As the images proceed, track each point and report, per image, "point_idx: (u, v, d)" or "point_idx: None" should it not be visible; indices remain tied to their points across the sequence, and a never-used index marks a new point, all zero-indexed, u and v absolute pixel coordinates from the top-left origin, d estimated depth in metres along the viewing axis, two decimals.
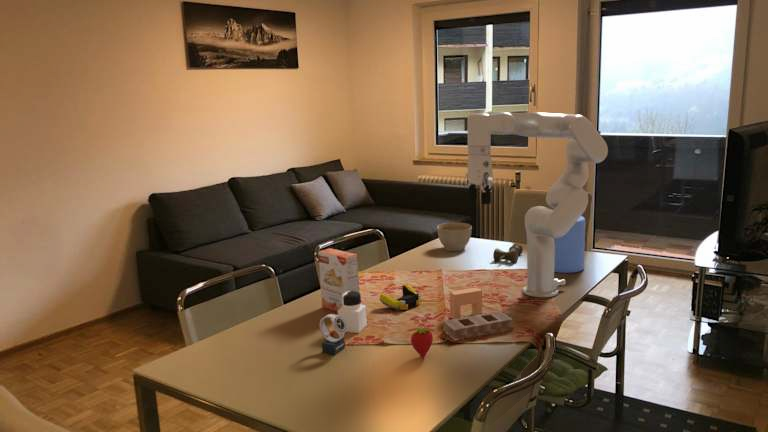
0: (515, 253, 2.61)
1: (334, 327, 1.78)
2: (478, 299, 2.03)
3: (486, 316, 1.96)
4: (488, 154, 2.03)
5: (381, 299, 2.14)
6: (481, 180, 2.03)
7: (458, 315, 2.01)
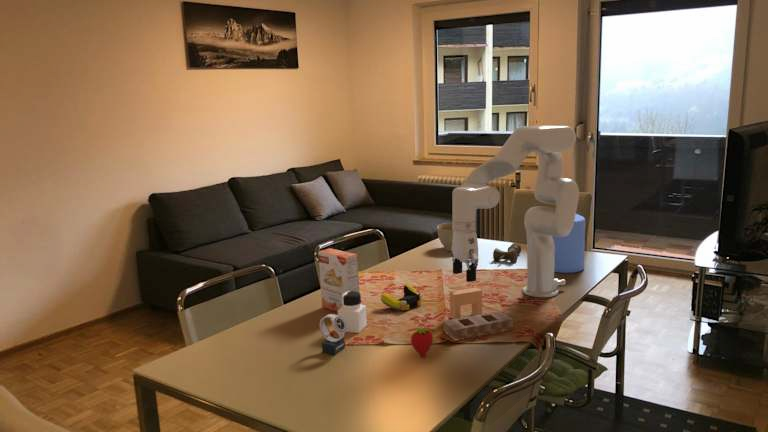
0: (515, 253, 2.61)
1: (334, 327, 1.78)
2: (478, 299, 2.03)
3: (486, 316, 1.96)
4: (473, 230, 1.96)
5: (382, 299, 2.14)
6: (466, 257, 1.95)
7: (458, 315, 2.01)
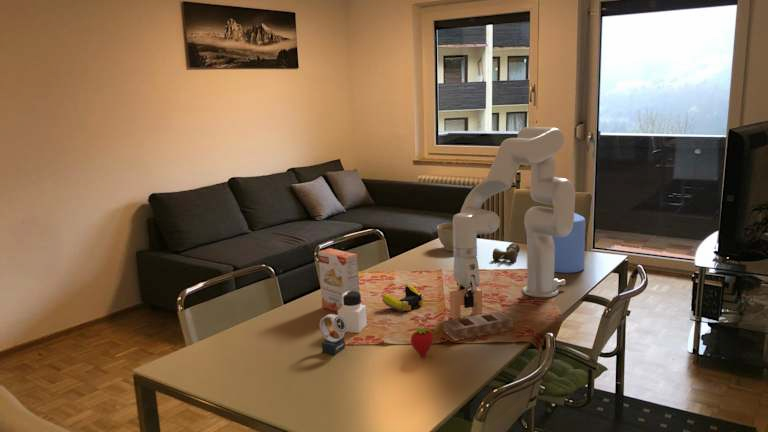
0: (515, 253, 2.62)
1: (334, 327, 1.78)
2: (478, 299, 2.03)
3: (486, 316, 1.96)
4: (474, 256, 1.98)
5: (384, 300, 2.13)
6: (467, 283, 1.97)
7: (458, 315, 2.01)
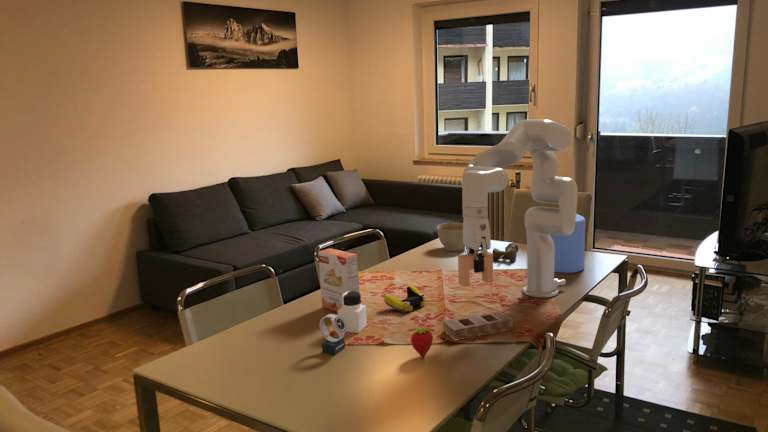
0: (514, 252, 2.62)
1: (334, 327, 1.78)
2: (489, 263, 1.89)
3: (486, 316, 1.96)
4: (485, 216, 1.84)
5: (385, 300, 2.13)
6: (477, 245, 1.83)
7: (467, 280, 1.87)
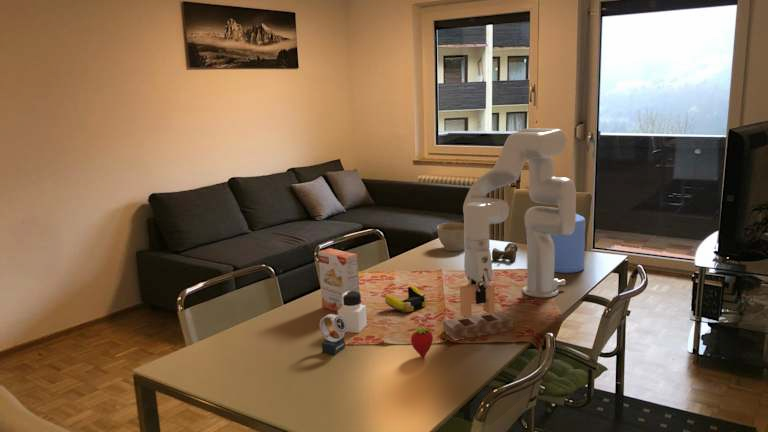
0: (514, 252, 2.63)
1: (334, 327, 1.78)
2: (490, 294, 1.90)
3: (486, 316, 1.96)
4: (487, 248, 1.85)
5: (386, 301, 2.12)
6: (479, 277, 1.84)
7: (469, 311, 1.88)
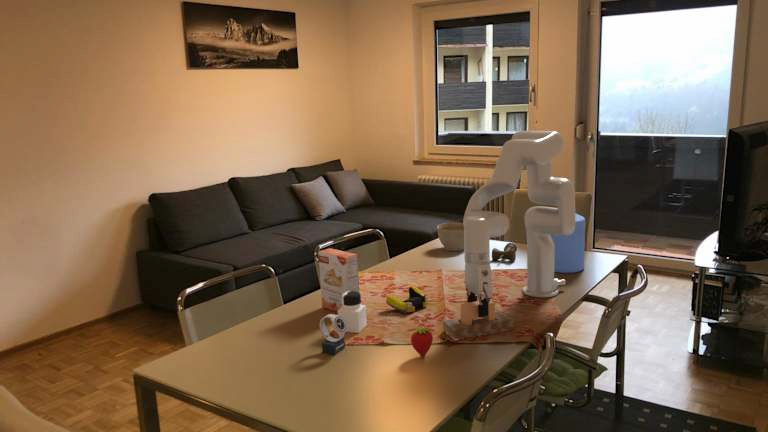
0: (514, 252, 2.63)
1: (334, 327, 1.78)
2: (491, 312, 1.91)
3: None
4: (487, 261, 1.86)
5: (387, 301, 2.12)
6: (480, 290, 1.85)
7: None
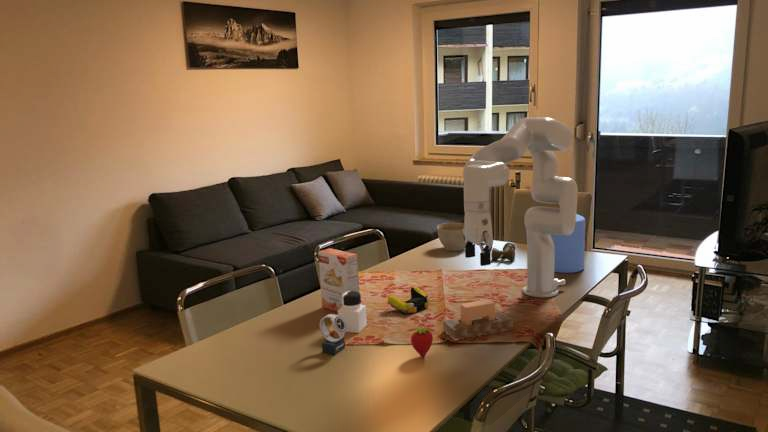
0: (513, 252, 2.63)
1: (334, 327, 1.78)
2: (491, 312, 1.91)
3: None
4: (487, 210, 1.83)
5: (389, 301, 2.12)
6: (480, 239, 1.82)
7: None
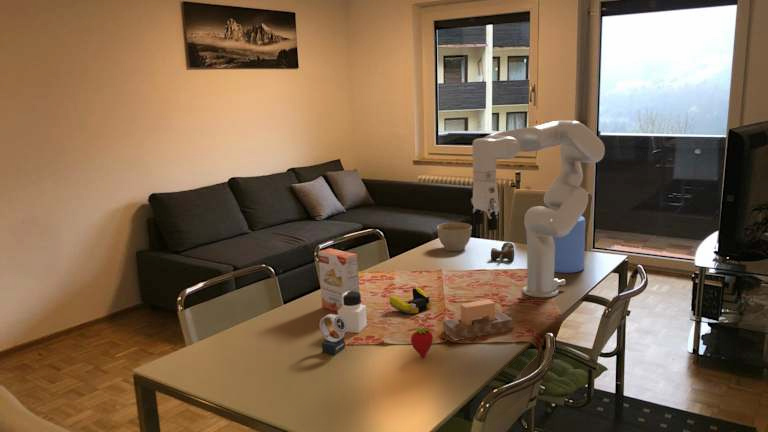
0: (513, 251, 2.64)
1: (334, 327, 1.78)
2: (490, 312, 1.91)
3: None
4: (494, 180, 2.01)
5: (391, 302, 2.11)
6: (487, 206, 2.00)
7: None
